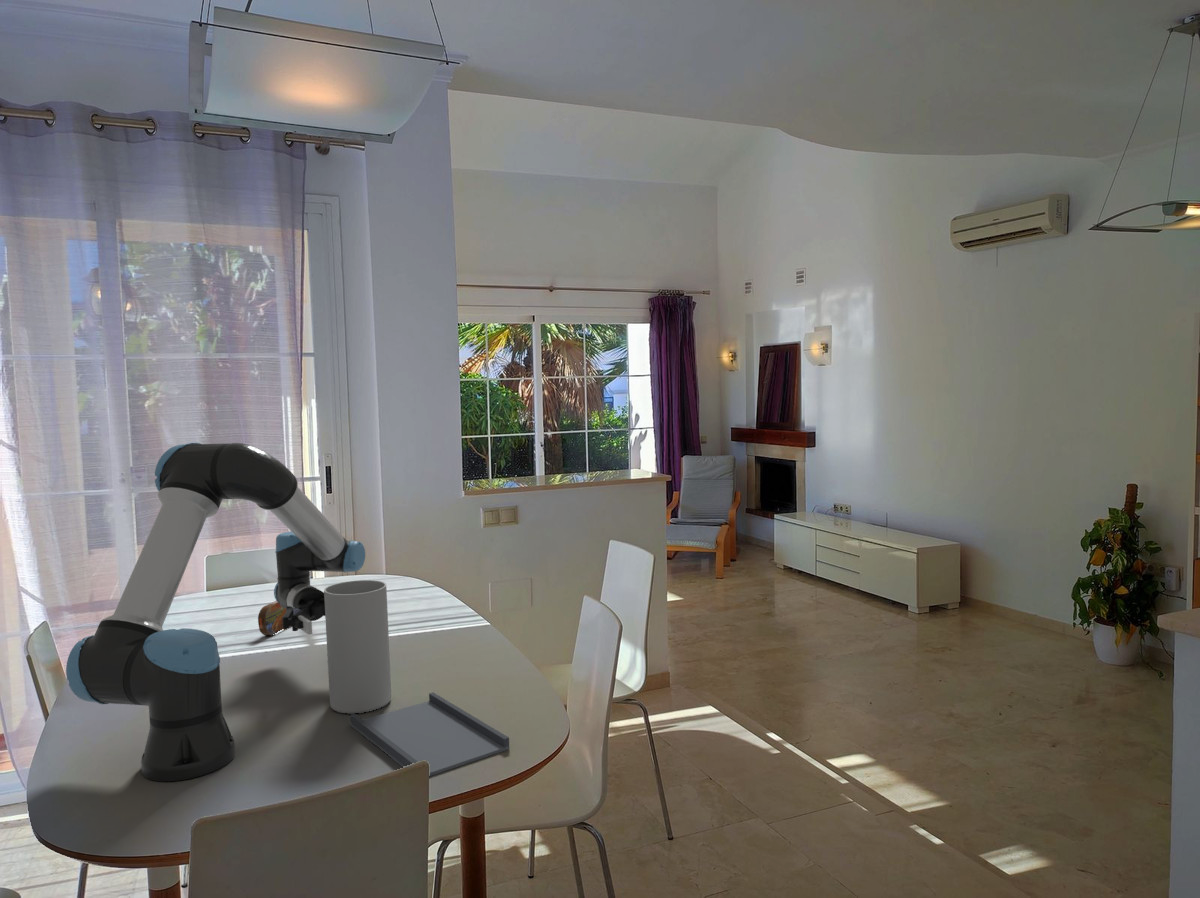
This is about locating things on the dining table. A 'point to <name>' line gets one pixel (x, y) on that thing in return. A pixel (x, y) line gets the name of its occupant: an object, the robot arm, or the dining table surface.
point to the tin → (271, 618)
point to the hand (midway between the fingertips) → (341, 621)
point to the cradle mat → (432, 735)
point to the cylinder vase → (357, 646)
